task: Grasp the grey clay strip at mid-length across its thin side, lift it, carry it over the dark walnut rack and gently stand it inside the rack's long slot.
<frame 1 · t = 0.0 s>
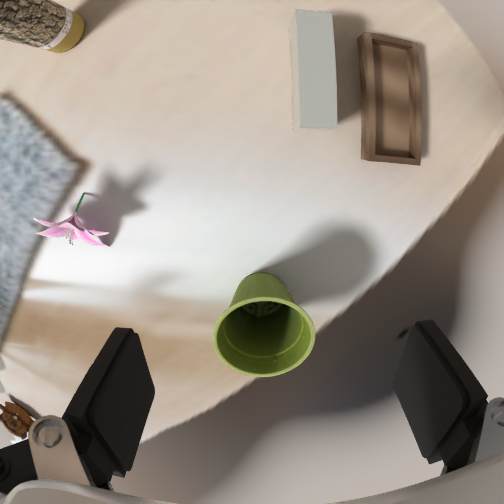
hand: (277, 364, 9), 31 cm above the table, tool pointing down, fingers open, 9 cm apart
lily: (87, 220, 40), on the table
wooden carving: (24, 409, 62), on the table
paper tube: (68, 34, 29), on the table
drying rack: (387, 99, 33), on the table
clay strip: (306, 77, 33), on the table
plant pot: (262, 292, 44), on the table
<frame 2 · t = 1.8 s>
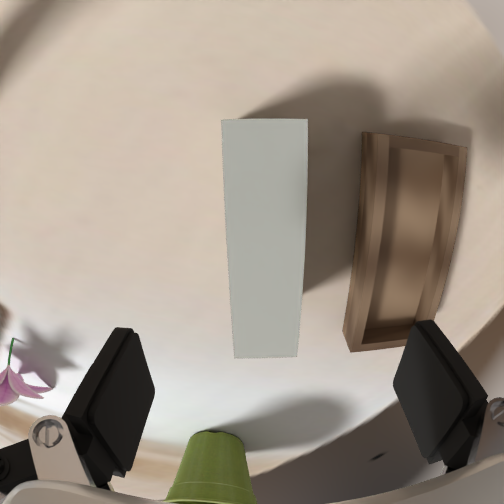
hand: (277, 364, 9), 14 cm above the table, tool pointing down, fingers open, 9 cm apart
lily: (25, 360, 30), on the table
drying rack: (397, 242, 23), on the table
clay strip: (262, 218, 22), on the table
plant pot: (217, 441, 34), on the table
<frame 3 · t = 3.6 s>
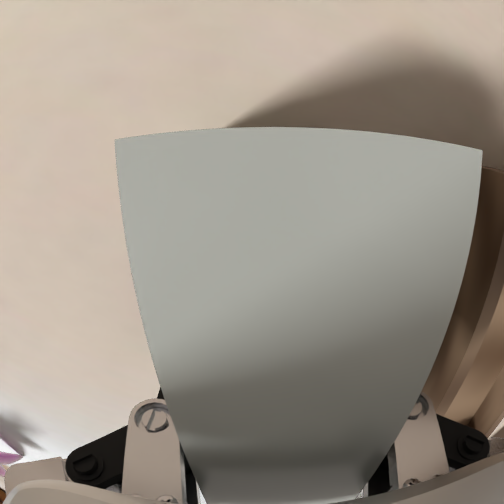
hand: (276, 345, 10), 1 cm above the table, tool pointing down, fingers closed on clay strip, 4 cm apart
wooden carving: (3, 490, 41), on the table
drying rack: (476, 335, 12), on the table
clay strip: (274, 322, 12), on the table, touching gripper
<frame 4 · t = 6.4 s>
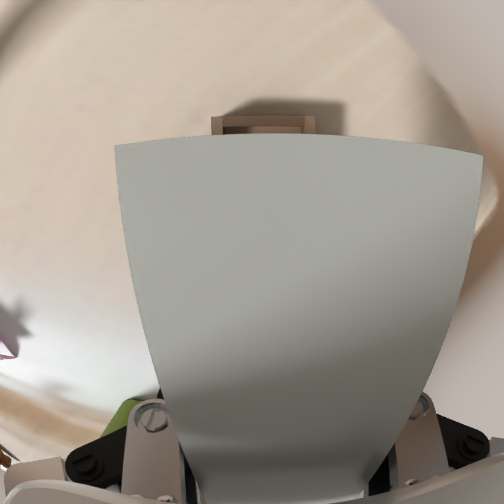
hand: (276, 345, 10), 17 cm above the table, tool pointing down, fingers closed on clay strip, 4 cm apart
drying rack: (264, 216, 26), on the table
clay strip: (274, 323, 12), point 16 cm above the table, touching gripper
plant pot: (145, 412, 37), on the table
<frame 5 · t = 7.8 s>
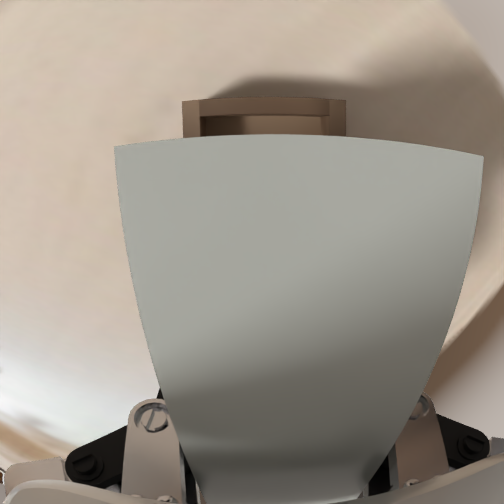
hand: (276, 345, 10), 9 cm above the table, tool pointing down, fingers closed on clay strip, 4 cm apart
drying rack: (264, 247, 18), on the table
clay strip: (274, 324, 12), point 7 cm above the table, touching gripper
when the fingers open (4 cm above the table, at t = 9.1 s): clay strip drops 1 cm, resting on drying rack.
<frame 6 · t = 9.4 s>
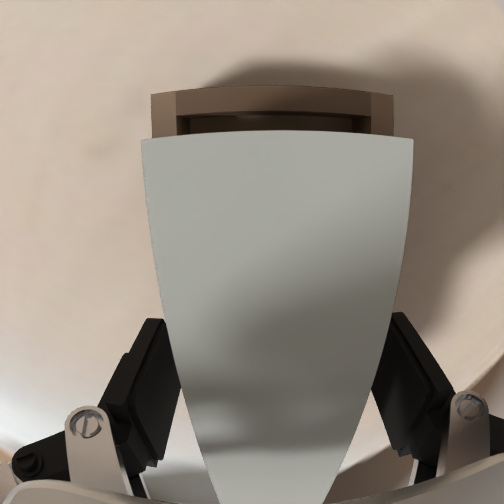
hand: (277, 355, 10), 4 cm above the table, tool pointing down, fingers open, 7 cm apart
drying rack: (271, 293, 14), on the table
clay strip: (268, 304, 13), point 1 cm above the table, touching drying rack
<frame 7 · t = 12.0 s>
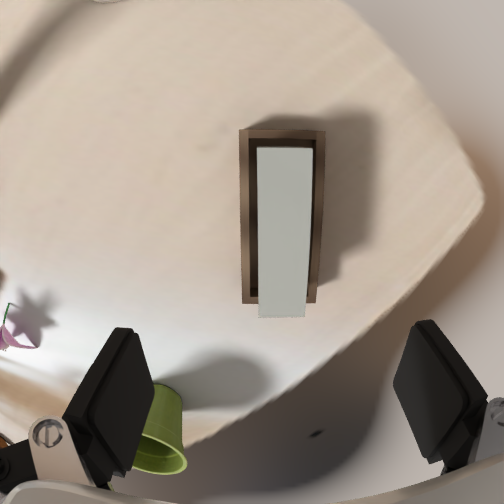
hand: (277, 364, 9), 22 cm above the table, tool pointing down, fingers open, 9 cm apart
lily: (17, 323, 38), on the table
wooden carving: (2, 437, 59), on the table
drying rack: (279, 215, 31), on the table
clay strip: (278, 217, 30), point 1 cm above the table, touching drying rack
plant pot: (161, 396, 41), on the table
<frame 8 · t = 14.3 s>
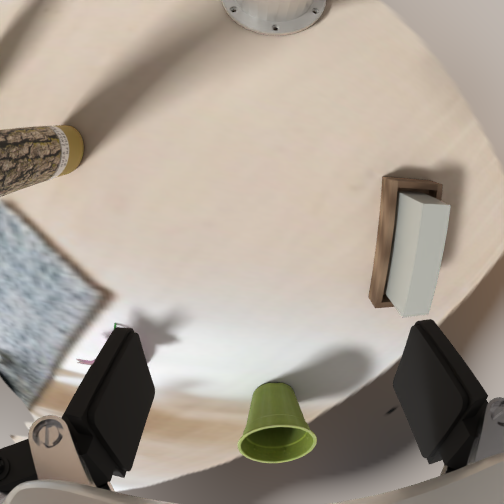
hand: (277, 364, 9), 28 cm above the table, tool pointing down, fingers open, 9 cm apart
paper tube: (67, 149, 33), on the table
drying rack: (401, 240, 38), on the table
clay strip: (403, 243, 37), point 1 cm above the table, touching drying rack
plant pot: (274, 393, 48), on the table
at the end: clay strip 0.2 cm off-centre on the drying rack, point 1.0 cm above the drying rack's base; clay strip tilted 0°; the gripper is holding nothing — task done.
